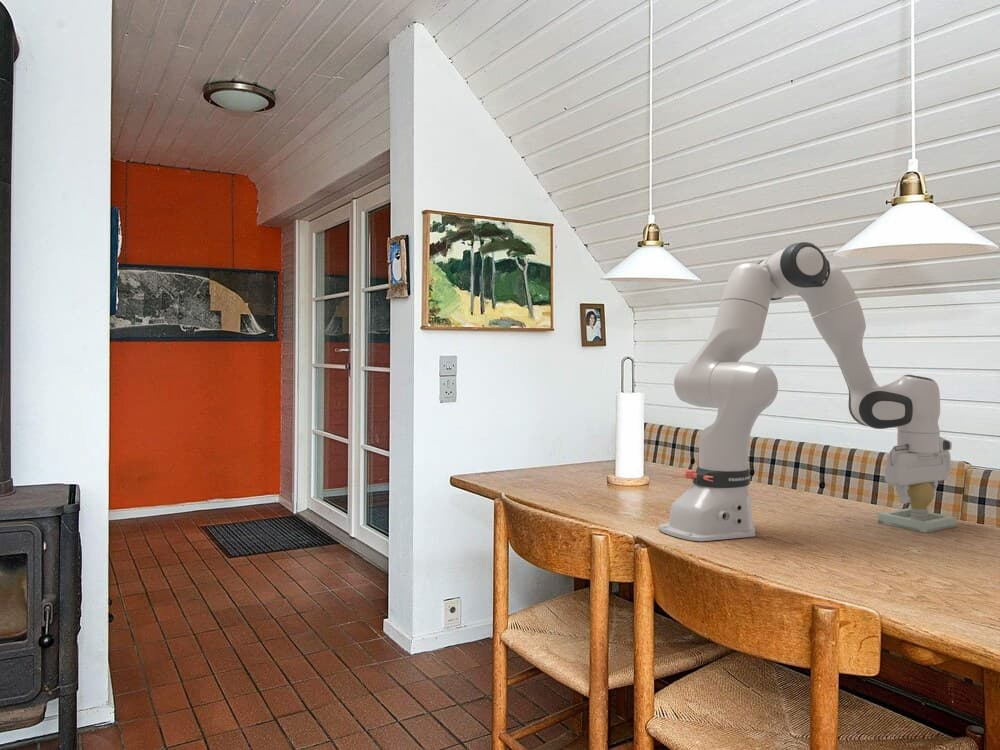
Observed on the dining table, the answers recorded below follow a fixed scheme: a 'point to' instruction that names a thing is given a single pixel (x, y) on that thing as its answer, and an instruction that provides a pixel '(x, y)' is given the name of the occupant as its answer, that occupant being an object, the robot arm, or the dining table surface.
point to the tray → (917, 521)
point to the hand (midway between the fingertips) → (916, 501)
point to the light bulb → (920, 500)
